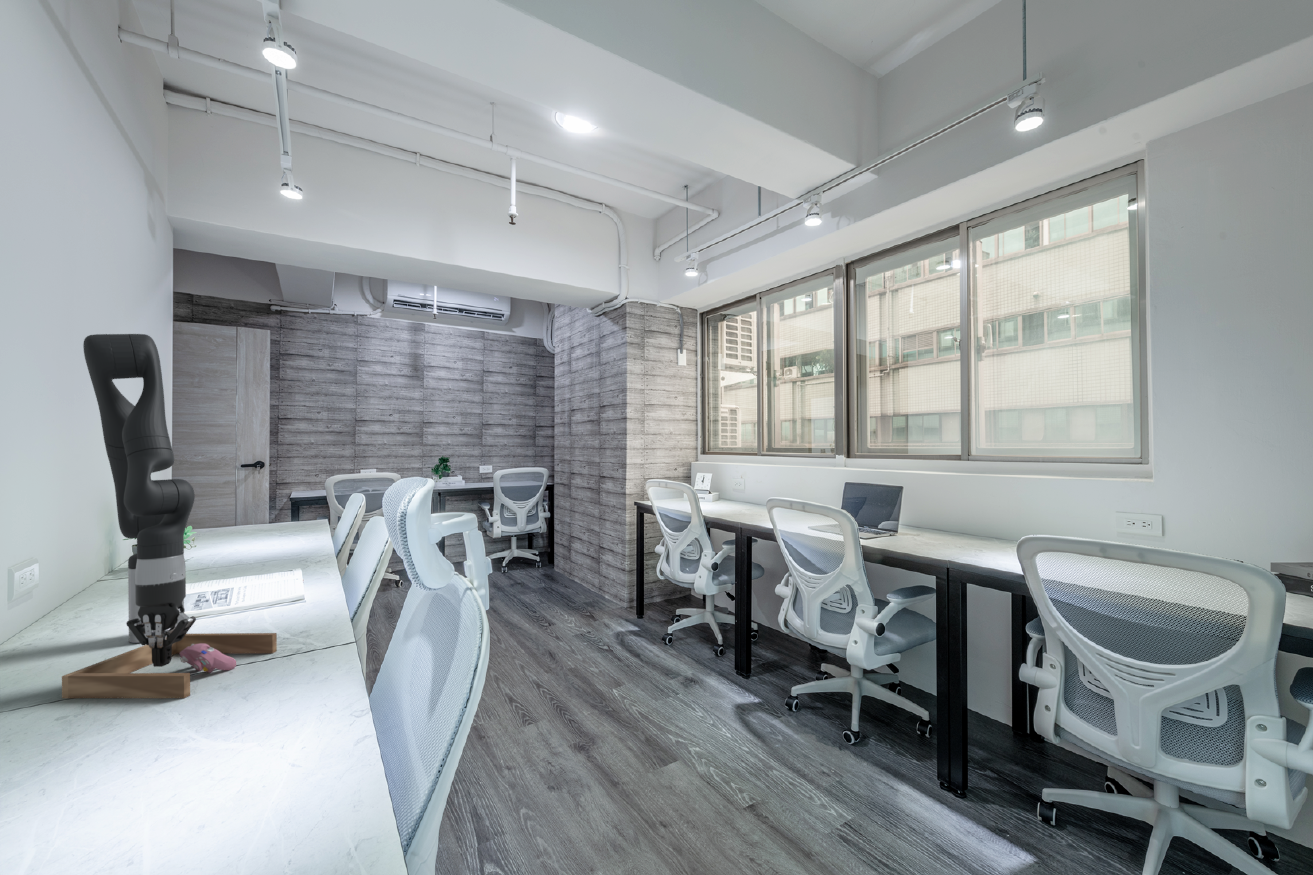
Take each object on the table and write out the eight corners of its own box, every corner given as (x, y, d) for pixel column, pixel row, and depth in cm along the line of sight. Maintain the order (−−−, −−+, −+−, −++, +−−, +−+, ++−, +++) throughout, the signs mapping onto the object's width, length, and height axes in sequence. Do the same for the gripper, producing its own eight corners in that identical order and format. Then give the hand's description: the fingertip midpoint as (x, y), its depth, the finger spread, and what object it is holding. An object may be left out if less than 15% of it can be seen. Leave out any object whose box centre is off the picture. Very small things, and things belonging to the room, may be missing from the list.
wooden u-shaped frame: (176, 651, 121) (176, 633, 122) (276, 651, 120) (276, 633, 120) (61, 698, 99) (61, 676, 99) (184, 698, 98) (184, 675, 98)
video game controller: (188, 676, 112) (169, 651, 109) (210, 659, 115) (192, 634, 113) (218, 683, 108) (200, 657, 105) (240, 665, 112) (223, 639, 109)
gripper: (208, 574, 113) (209, 657, 113) (148, 574, 114) (148, 658, 114) (174, 583, 106) (175, 672, 106) (110, 583, 107) (111, 673, 106)
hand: (161, 665), depth 110 cm, fingers closed
